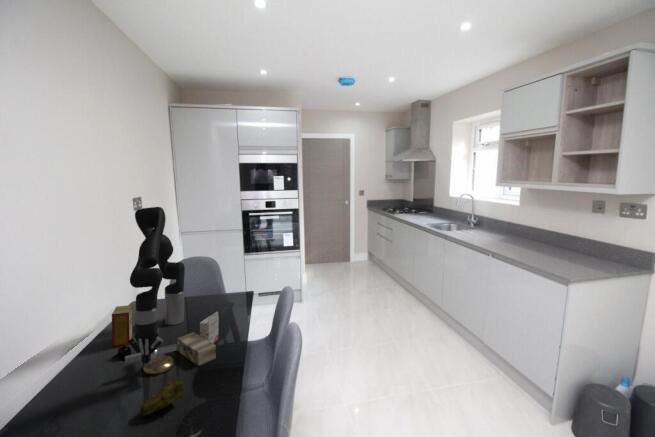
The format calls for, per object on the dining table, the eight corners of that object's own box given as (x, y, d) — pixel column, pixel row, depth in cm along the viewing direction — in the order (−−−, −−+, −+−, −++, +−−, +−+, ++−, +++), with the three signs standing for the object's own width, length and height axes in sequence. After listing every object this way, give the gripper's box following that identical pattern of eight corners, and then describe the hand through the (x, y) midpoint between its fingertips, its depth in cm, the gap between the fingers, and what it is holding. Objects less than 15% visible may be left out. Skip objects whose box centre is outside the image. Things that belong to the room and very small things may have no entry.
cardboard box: (174, 351, 137) (174, 339, 137) (193, 344, 145) (194, 332, 144) (196, 367, 127) (196, 353, 126) (215, 358, 134) (215, 345, 133)
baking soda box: (129, 344, 141) (128, 311, 140) (112, 347, 139) (111, 313, 137) (132, 335, 150) (132, 304, 148) (116, 337, 147) (116, 305, 145)
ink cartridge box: (209, 337, 151) (210, 309, 150) (218, 339, 150) (219, 310, 149) (199, 346, 143) (199, 316, 141) (208, 348, 142) (208, 318, 140)
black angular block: (142, 356, 133) (142, 347, 133) (126, 365, 126) (126, 355, 126) (121, 350, 137) (121, 341, 136) (105, 359, 130) (105, 349, 130)
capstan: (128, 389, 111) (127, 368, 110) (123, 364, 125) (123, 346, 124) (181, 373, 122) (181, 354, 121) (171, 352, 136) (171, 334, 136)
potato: (142, 404, 104) (142, 382, 103) (183, 395, 110) (184, 374, 109) (139, 421, 97) (139, 398, 96) (183, 411, 102) (183, 389, 101)
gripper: (122, 323, 112) (122, 367, 113) (158, 324, 112) (158, 368, 114) (134, 314, 119) (134, 356, 121) (168, 316, 120) (168, 357, 121)
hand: (146, 362), depth 117 cm, fingers closed
